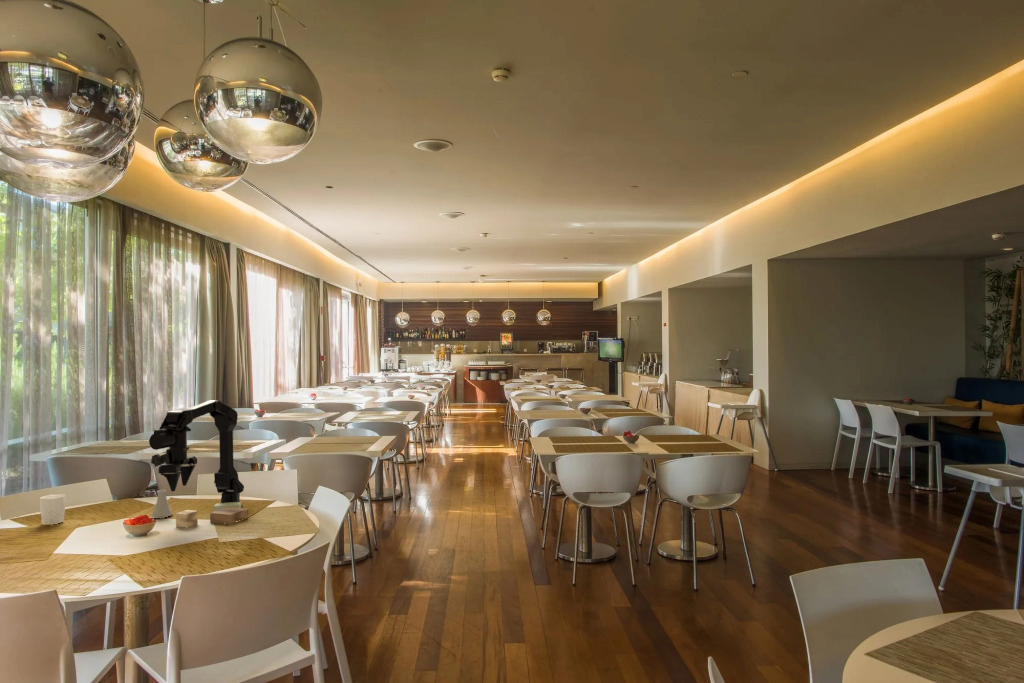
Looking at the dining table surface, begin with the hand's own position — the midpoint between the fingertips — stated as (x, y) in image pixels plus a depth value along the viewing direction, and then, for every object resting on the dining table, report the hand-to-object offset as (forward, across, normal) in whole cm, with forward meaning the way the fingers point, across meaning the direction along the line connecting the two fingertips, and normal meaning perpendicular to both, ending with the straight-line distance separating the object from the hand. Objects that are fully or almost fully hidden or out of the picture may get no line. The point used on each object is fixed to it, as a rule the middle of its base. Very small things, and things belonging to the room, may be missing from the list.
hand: (178, 488), depth 240 cm
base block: (+14, -4, +16) cm, 22 cm away
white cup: (+14, -9, -50) cm, 52 cm away
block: (+14, -16, +11) cm, 24 cm away
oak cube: (+14, 0, +3) cm, 14 cm away
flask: (+14, -14, -12) cm, 23 cm away
